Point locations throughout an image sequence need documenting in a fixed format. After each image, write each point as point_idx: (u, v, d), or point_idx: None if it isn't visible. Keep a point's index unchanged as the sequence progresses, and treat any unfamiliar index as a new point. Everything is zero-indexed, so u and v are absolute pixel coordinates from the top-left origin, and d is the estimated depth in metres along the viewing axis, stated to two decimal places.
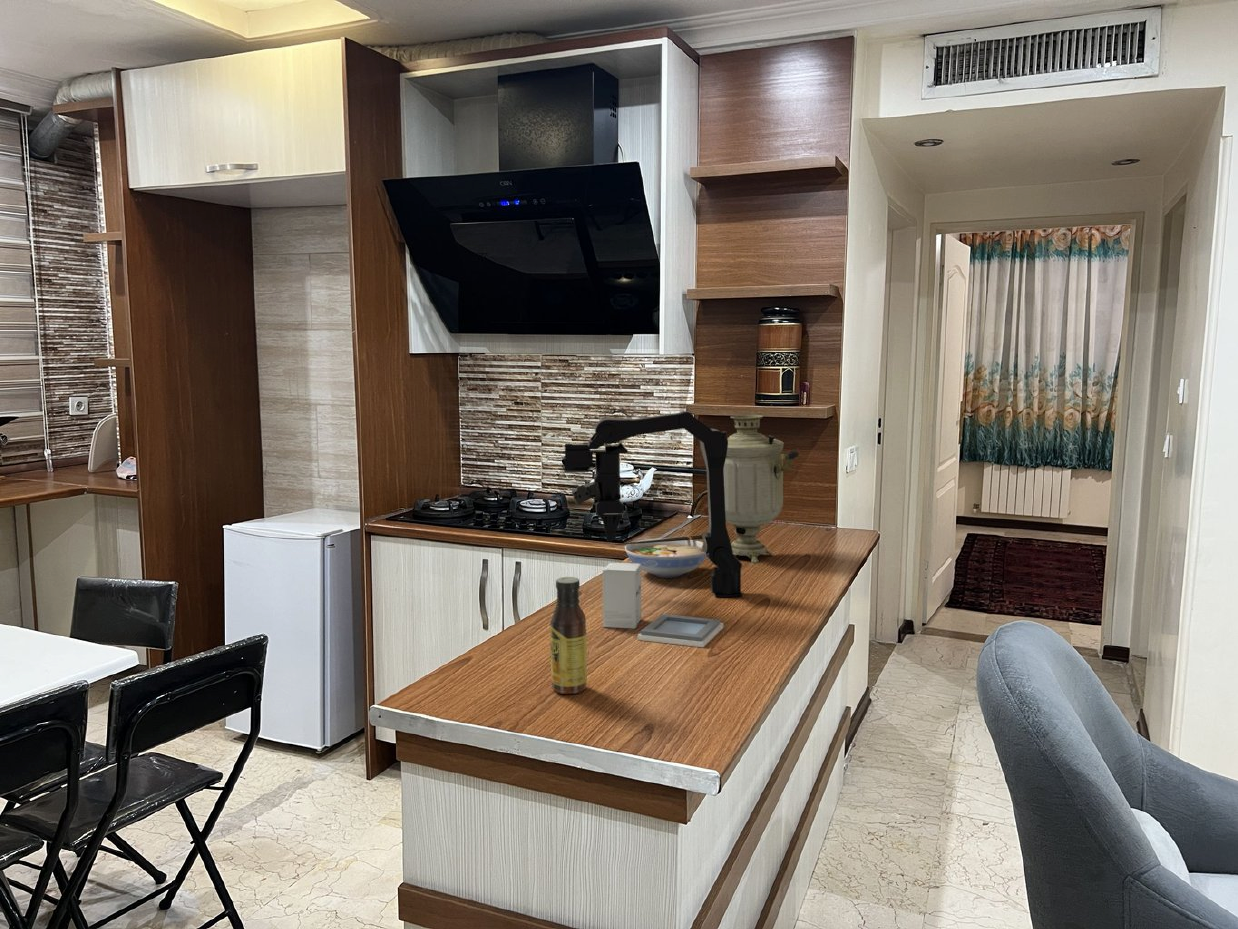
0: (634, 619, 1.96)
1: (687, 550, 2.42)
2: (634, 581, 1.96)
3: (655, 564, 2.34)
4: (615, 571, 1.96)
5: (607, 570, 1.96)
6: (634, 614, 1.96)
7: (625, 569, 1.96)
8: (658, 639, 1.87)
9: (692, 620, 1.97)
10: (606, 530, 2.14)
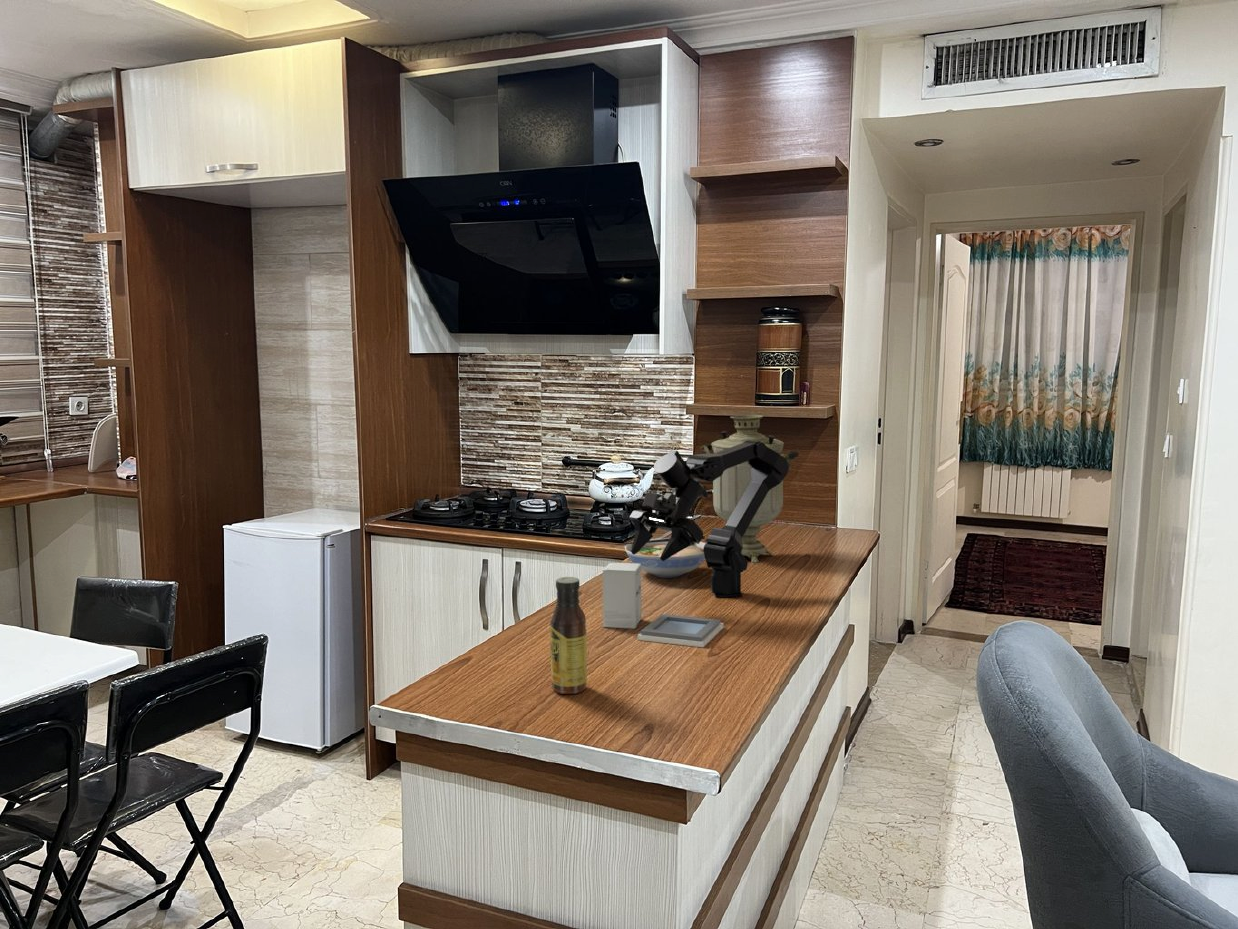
0: (634, 619, 1.96)
1: (687, 550, 2.42)
2: (634, 581, 1.96)
3: (655, 564, 2.34)
4: (615, 571, 1.96)
5: (607, 570, 1.96)
6: (634, 614, 1.96)
7: (625, 569, 1.96)
8: (658, 639, 1.87)
9: (692, 620, 1.97)
10: (668, 548, 2.01)
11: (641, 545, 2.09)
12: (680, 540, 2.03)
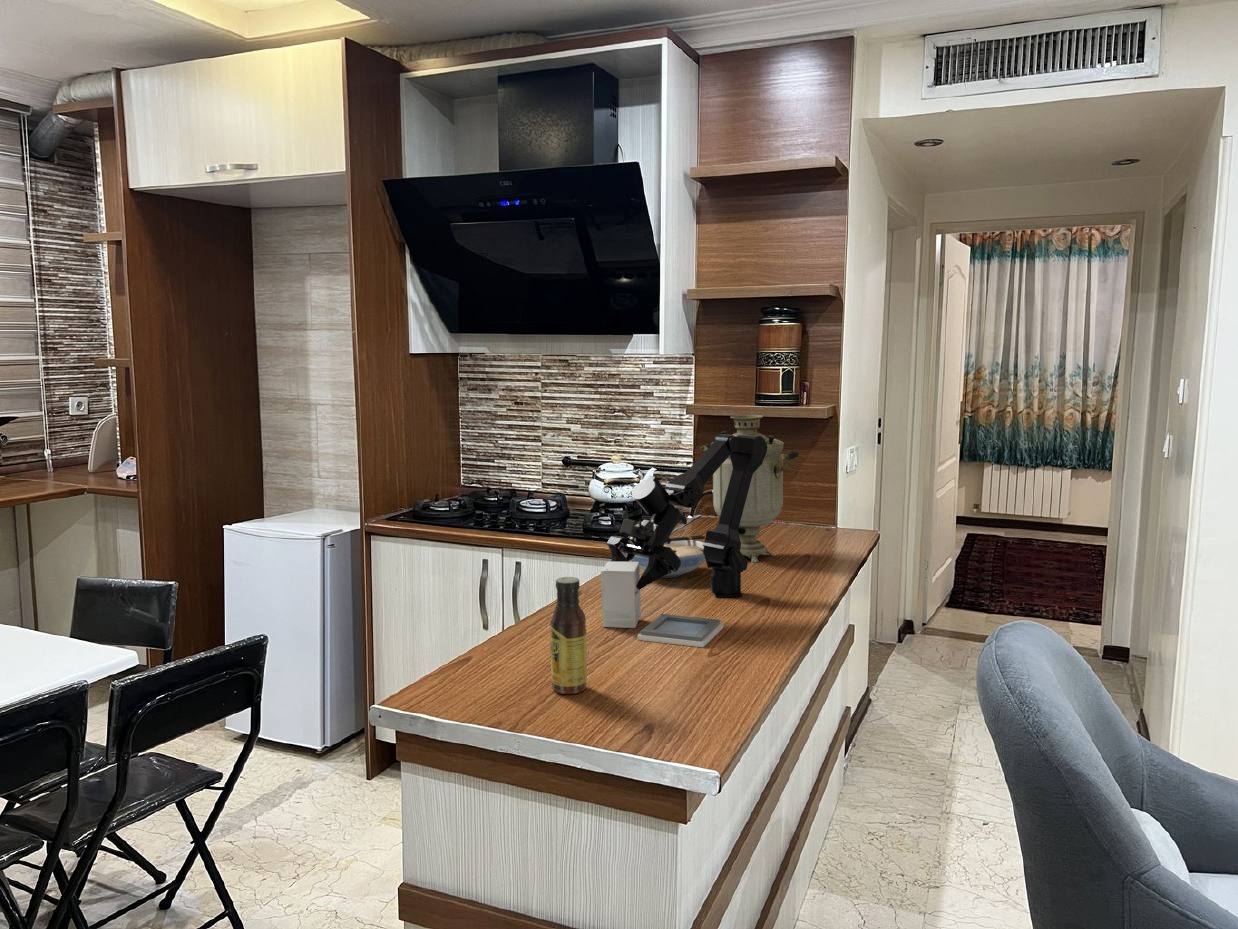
0: (634, 619, 1.96)
1: (687, 550, 2.42)
2: (633, 581, 1.95)
3: None
4: (614, 572, 1.95)
5: (606, 571, 1.96)
6: (634, 614, 1.96)
7: (624, 569, 1.96)
8: (658, 639, 1.87)
9: (692, 620, 1.97)
10: (644, 576, 1.97)
11: None
12: (657, 568, 1.98)
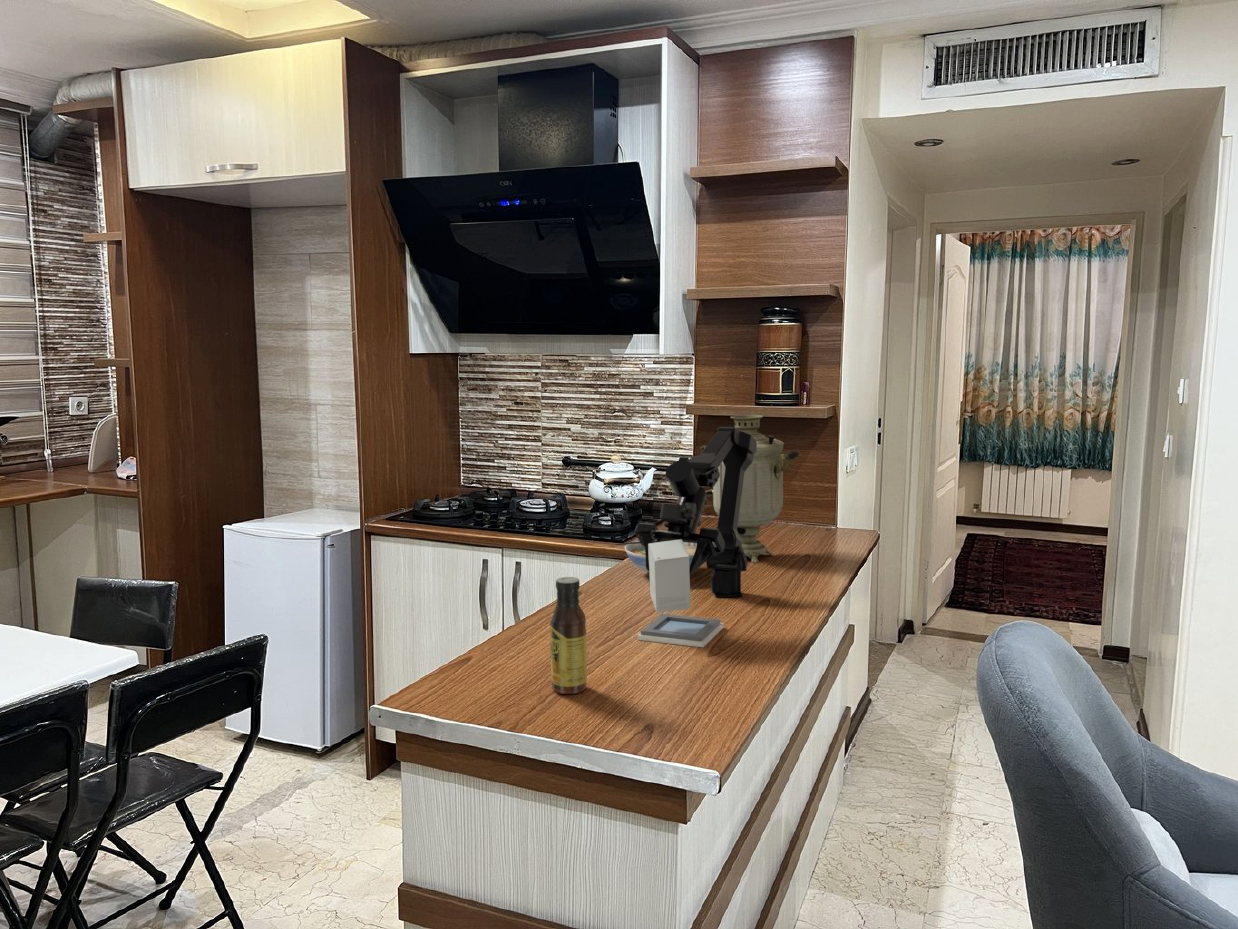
0: (688, 600, 1.90)
1: (687, 550, 2.42)
2: (688, 566, 1.86)
3: None
4: (668, 560, 1.85)
5: (659, 560, 1.85)
6: (688, 596, 1.89)
7: (677, 555, 1.86)
8: (658, 639, 1.87)
9: (692, 620, 1.97)
10: (696, 561, 1.89)
11: None
12: (703, 551, 1.92)
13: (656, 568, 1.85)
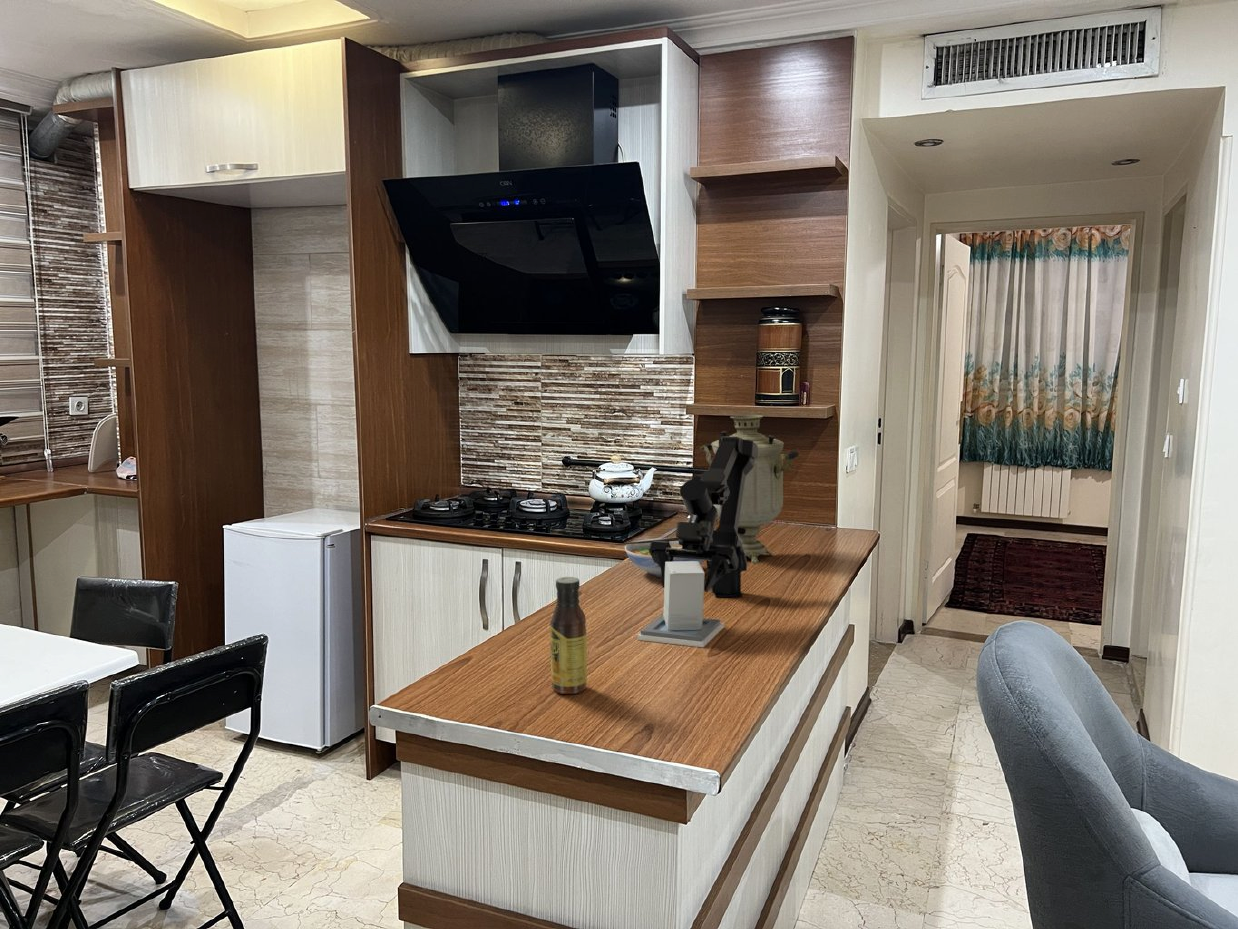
0: (701, 621, 1.91)
1: None
2: (703, 583, 1.89)
3: (655, 564, 2.34)
4: (683, 574, 1.88)
5: (675, 573, 1.88)
6: (701, 616, 1.90)
7: (692, 571, 1.89)
8: (658, 639, 1.87)
9: None
10: (711, 578, 1.93)
11: None
12: (717, 568, 1.96)
13: (671, 582, 1.88)
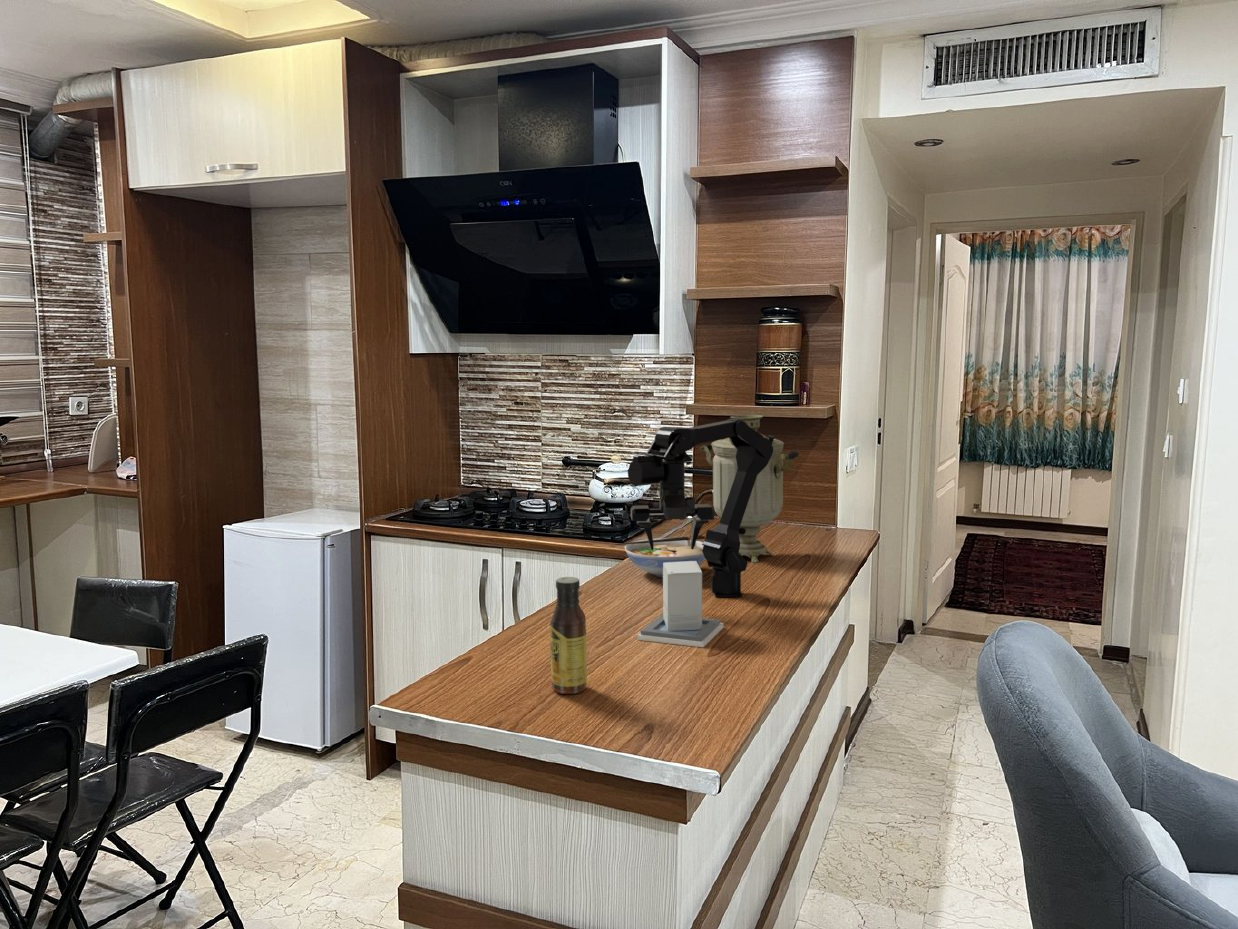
0: (700, 620, 1.91)
1: (687, 550, 2.42)
2: (701, 582, 1.89)
3: (655, 564, 2.34)
4: (681, 574, 1.88)
5: (672, 574, 1.88)
6: (700, 615, 1.91)
7: (690, 571, 1.89)
8: (658, 639, 1.87)
9: None
10: None
11: None
12: None
13: (669, 582, 1.88)
